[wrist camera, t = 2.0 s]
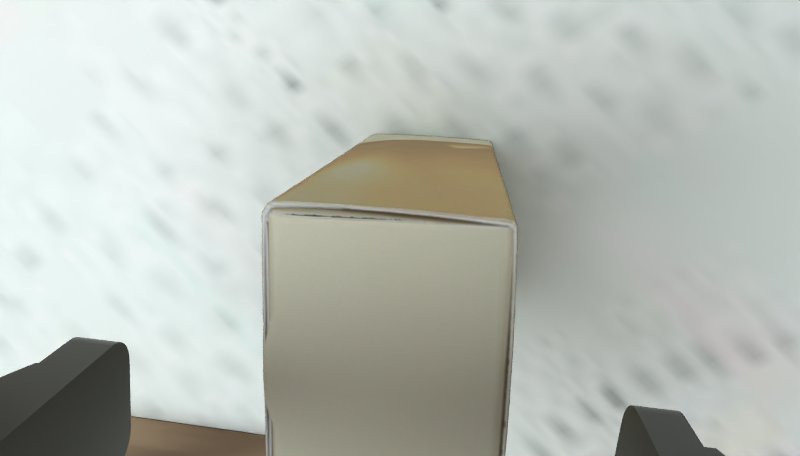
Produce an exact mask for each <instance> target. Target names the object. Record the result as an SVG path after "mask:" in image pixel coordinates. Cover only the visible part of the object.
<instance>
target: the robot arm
mask: <svg viewBox="0 0 800 456" xmlns="http://www.w3.org/2000/svg"><path fill="white" fill-rule="evenodd" d="M130 434H131V407H130V364H129V353H128V349H127V347H126V345H125V344H124V343H121V342H114V341H106V340H97V339H89V338H81V337H75V338H73V339H71V340H69V341H68V342H67V343H65V344H64V345H63V346H61V347H60V348H59V349H57V350H56V351H55V352H53V353H52V354H50V355H49V356H48V357H46V358H45V359H44V360H42V361H41V362H40V363H34V364H32V365H30V366H27V367H25V368H22V369H20V370H17V371H15V372H12V373H10V374H7V375H5V376H3V377H1V378H0V456H125V454H126V451H127V448H128V444H129V440H130ZM615 456H725V455H724V454H722V453H721V452H720V451H719V450H717V449H716V448H707V447H703V445H702V443H701V442H700V440H699V439H698V437H697V436H696V434H695V432H694V431H693V429H692V428H691V426H690V424H689V423H688V421H687V420H686V418H685V416H684V415H683V414H682V413H681V412H680V411H674V410H666V409H657V408H649V407H641V406H632V405H630V406H628V407H627V409H626V410H625V413H624V415H623V419H622V423H621V428H620V433H619V438H618V443H617V448H616V453H615Z"/></svg>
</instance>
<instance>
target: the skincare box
mask: <svg viewBox="0 0 800 456" xmlns="http://www.w3.org/2000/svg"><path fill="white" fill-rule="evenodd" d="M517 240H518V228H517V223H516V220H515V217H514V214H513V212H512V208H511V205H510V201H509V197H508V195H507V191H506V189H505V185H504V182H503V179H502V176H501V173H500V169H499V166H498V163H497V160H496V157H495V153H494V149H493V145H492V143H491V142H490V141H487V140H474V139H463V138H447V137H434V136H419V135H394V134H374V135H371V136H370V137H368V138H367V139H365V140H364V141H362V142H361V143H359V144H357V145H356V146H354V147H353V148H352V149H350V150H349V151H347V152H346V153H344V154H343V155H341V156H339V157H338V158H336V159H335V160H333V161H332V162H330V163H329V164H327V165H326V166H324V167H323V168H321V169H320V170H318V171H317V172H315V173H314V174H312V175H311V176H309V177H307V178H306V179H304V180H303V181H301V182H300V183H298V184H297V185H295V186H293V187H292V188H290V189H289V190H287V191H286V192H285V193H283V194H281V195H280V196H278V197H276V198H275V199H273V200H272V201H270V202H269V203H267V205H266V206H265V208H264V210H263V211H262V283H263V322H264V326H263V378H264V396H265V422H266V456H505V452H506V439H507V428H508V416H509V404H510V387H511V373H512V358H513V341H514V319H515V293H516V266H517Z"/></svg>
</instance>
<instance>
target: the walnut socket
mask: <svg viewBox="0 0 800 456" xmlns="http://www.w3.org/2000/svg"><path fill="white" fill-rule="evenodd" d="M125 456H266V436H264V435H257V434H250V433H243V432H236V431H229V430H222V429H215V428H208V427H201V426H194V425H187V424H180V423H172V422H165V421H158V420H151V419H144V418H137V417H131V434H130V440H129V444H128V448H127V451H126V454H125Z"/></svg>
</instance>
